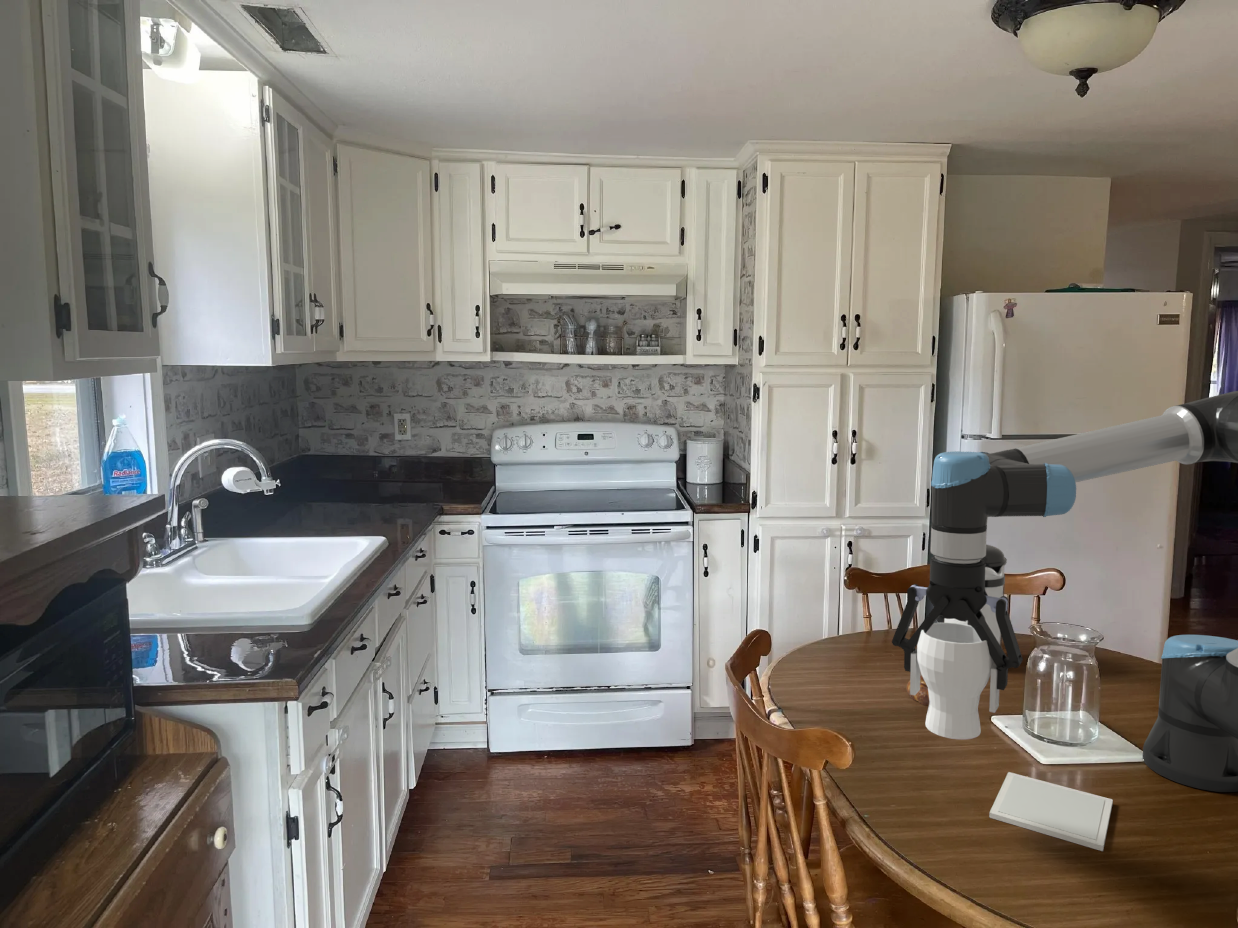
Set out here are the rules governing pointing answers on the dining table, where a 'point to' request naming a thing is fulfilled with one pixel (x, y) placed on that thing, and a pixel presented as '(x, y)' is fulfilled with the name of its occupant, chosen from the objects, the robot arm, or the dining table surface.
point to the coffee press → (989, 588)
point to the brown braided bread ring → (920, 693)
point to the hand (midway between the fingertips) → (953, 700)
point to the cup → (953, 678)
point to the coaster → (1053, 810)
